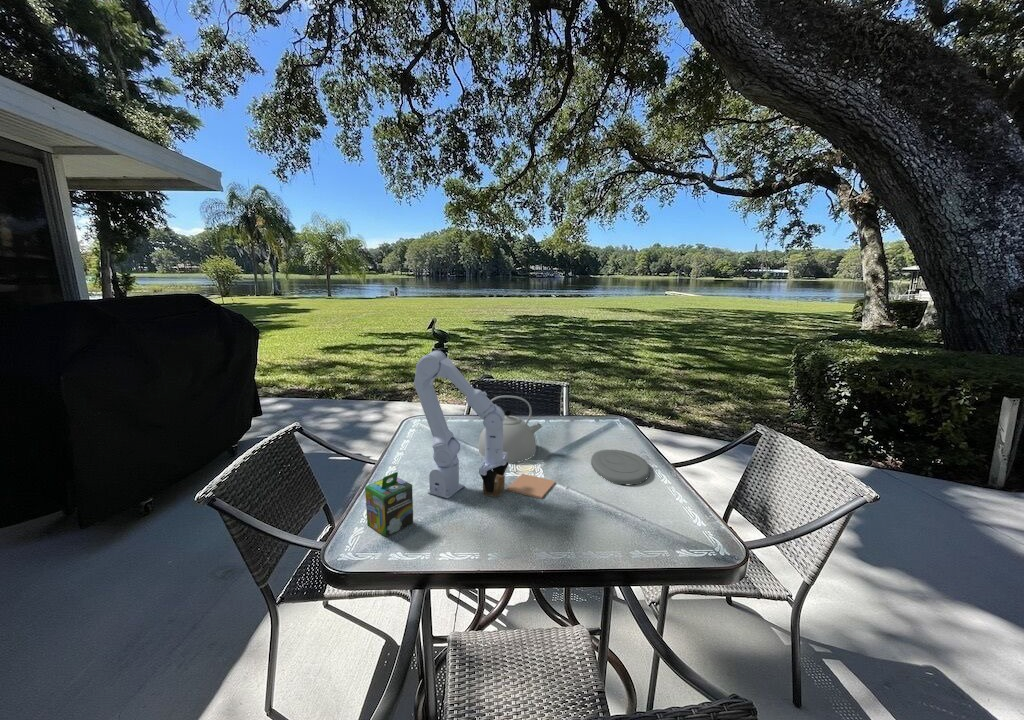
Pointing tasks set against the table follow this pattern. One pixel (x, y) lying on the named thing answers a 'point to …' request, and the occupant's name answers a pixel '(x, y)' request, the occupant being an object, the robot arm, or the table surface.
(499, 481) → the walnut block
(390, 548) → the table surface
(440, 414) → the robot arm
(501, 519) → the table surface
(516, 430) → the kettle
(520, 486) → the terracotta tile
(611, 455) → the frisbee
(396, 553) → the table surface
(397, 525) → the chalk box
